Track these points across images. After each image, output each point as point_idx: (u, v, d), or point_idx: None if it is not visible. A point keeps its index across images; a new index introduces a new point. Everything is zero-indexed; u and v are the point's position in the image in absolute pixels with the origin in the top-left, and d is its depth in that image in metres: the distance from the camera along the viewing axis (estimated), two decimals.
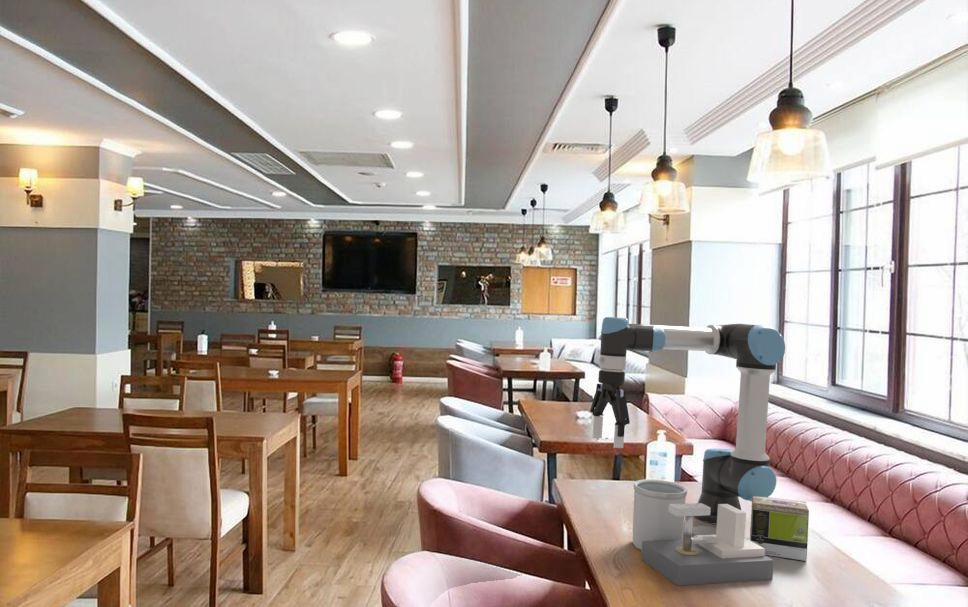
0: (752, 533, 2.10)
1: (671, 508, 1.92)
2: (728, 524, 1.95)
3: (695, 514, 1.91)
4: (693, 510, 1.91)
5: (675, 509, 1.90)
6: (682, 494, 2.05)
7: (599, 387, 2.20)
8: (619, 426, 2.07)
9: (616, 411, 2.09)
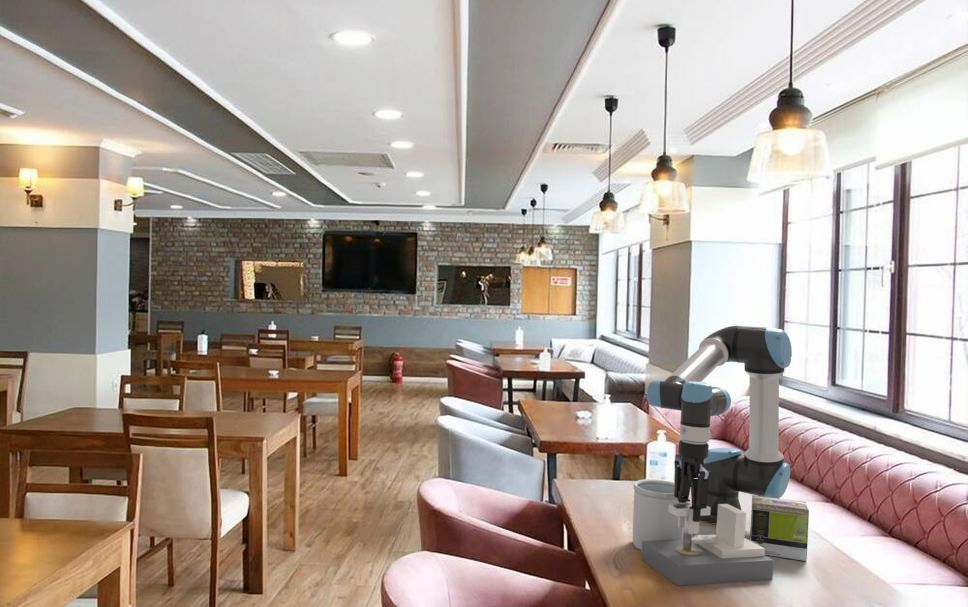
0: (752, 533, 2.10)
1: (671, 508, 1.92)
2: (728, 524, 1.95)
3: None
4: None
5: (675, 509, 1.90)
6: None
7: (678, 463, 1.97)
8: (695, 510, 1.89)
9: (694, 493, 1.89)
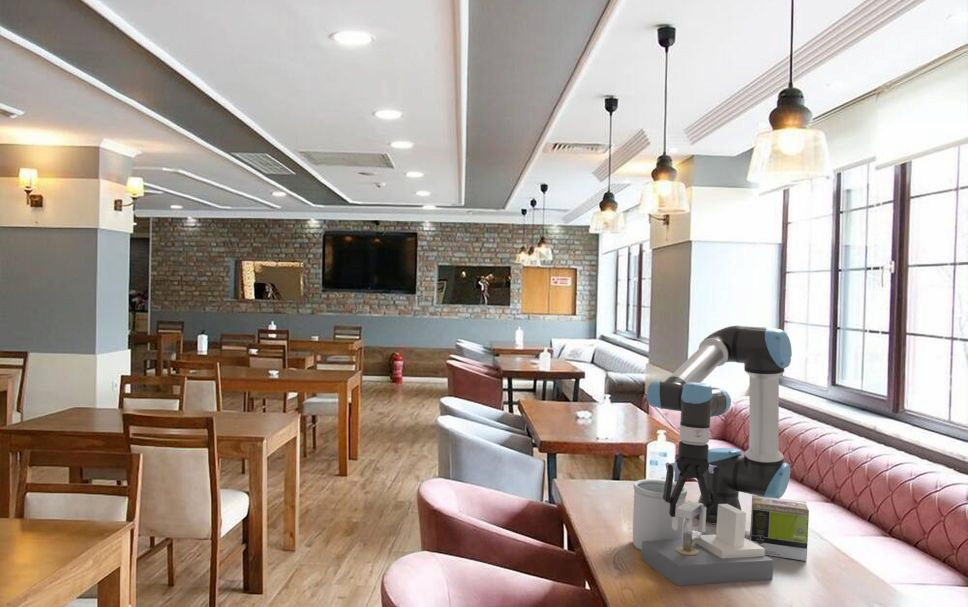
0: (752, 533, 2.10)
1: (681, 511, 1.89)
2: (728, 524, 1.95)
3: (697, 512, 1.92)
4: (697, 509, 1.92)
5: (688, 512, 1.88)
6: (682, 494, 2.05)
7: None
8: (708, 507, 1.92)
9: (706, 491, 1.92)
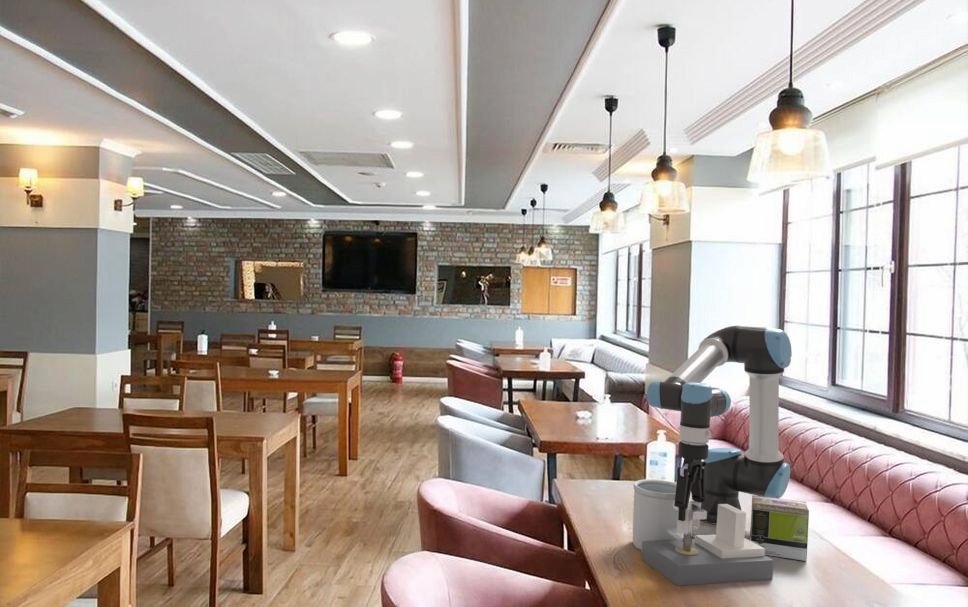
0: (752, 533, 2.10)
1: (698, 514, 1.88)
2: (728, 524, 1.95)
3: None
4: None
5: (704, 513, 1.88)
6: None
7: None
8: (699, 502, 1.96)
9: None
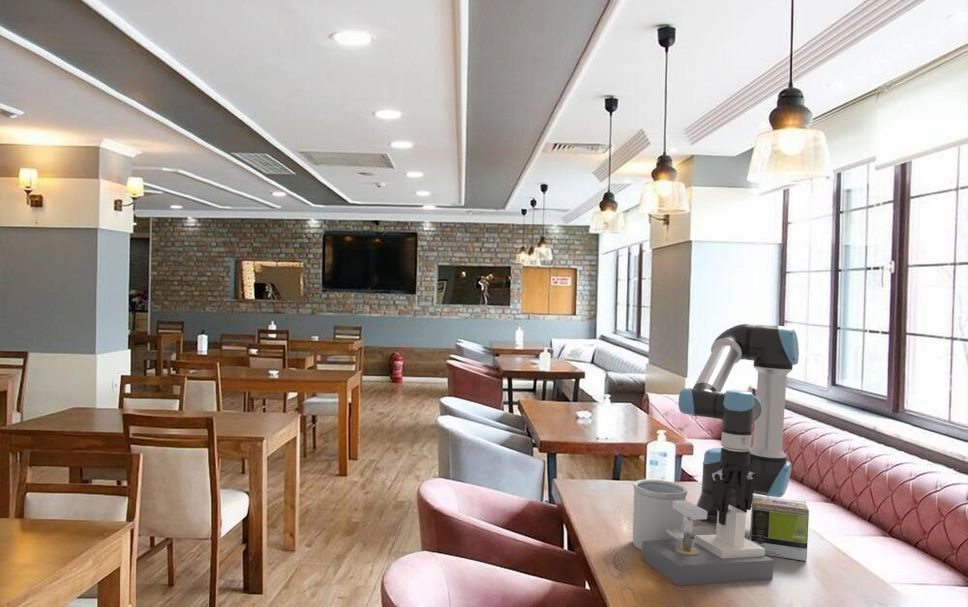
0: (752, 533, 2.10)
1: (698, 514, 1.88)
2: None
3: None
4: None
5: (704, 513, 1.88)
6: (682, 494, 2.05)
7: None
8: None
9: None
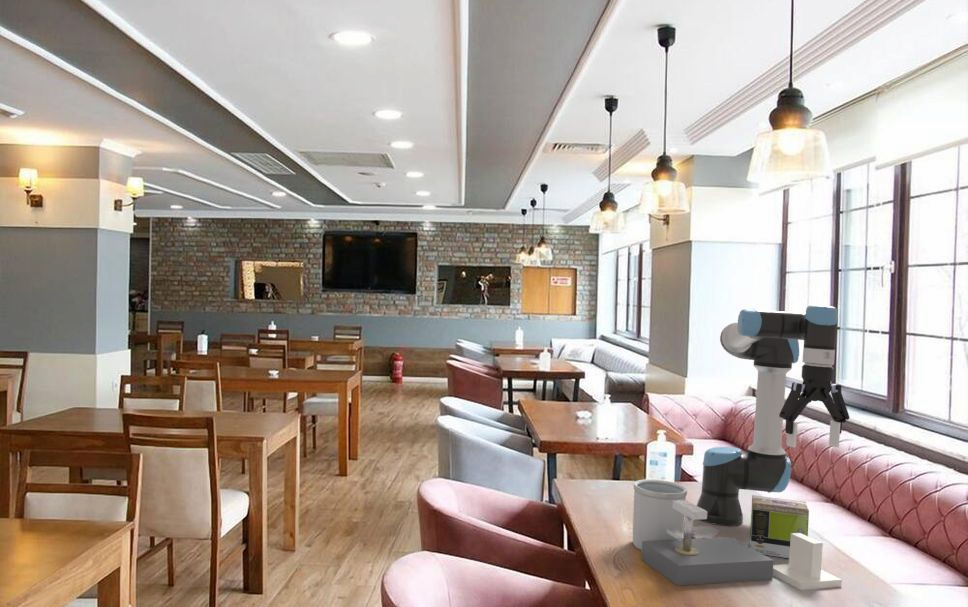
0: (752, 533, 2.10)
1: (698, 514, 1.88)
2: (803, 555, 1.91)
3: None
4: None
5: (704, 513, 1.88)
6: (682, 494, 2.05)
7: None
8: (840, 423, 1.93)
9: None
